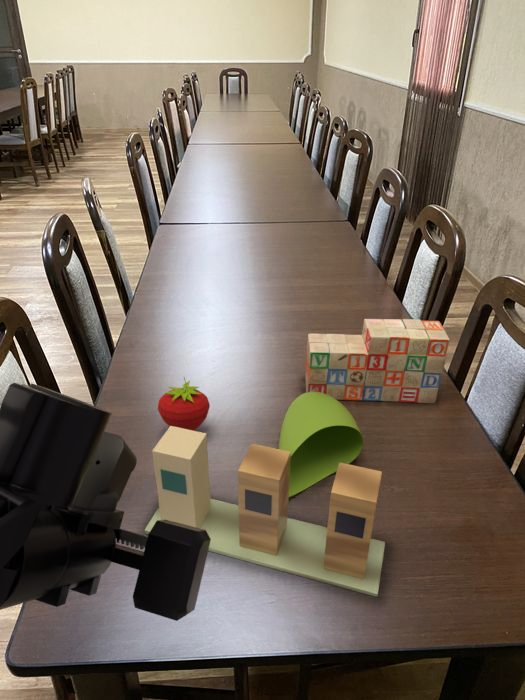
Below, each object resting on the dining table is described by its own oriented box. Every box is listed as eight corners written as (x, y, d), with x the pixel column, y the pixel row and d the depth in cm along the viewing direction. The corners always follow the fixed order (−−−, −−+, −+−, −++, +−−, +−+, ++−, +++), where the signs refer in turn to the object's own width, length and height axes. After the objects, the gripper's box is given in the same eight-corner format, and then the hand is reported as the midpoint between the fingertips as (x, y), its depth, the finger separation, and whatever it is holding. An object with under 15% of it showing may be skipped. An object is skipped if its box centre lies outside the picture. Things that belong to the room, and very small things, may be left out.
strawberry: (163, 422, 83) (157, 368, 78) (212, 422, 84) (209, 368, 78) (158, 448, 78) (151, 392, 73) (210, 447, 78) (207, 391, 73)
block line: (377, 597, 58) (392, 516, 52) (144, 533, 65) (132, 455, 59) (384, 545, 64) (399, 466, 57) (170, 491, 71) (162, 416, 65)
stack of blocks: (306, 400, 89) (310, 335, 82) (304, 378, 94) (308, 316, 88) (436, 403, 88) (450, 338, 82) (427, 381, 94) (440, 319, 87)
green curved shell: (372, 448, 65) (341, 368, 83) (272, 466, 65) (263, 383, 83) (378, 497, 68) (347, 410, 86) (283, 514, 69) (272, 424, 87)
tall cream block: (196, 535, 64) (190, 460, 58) (161, 525, 65) (151, 451, 59) (210, 506, 68) (206, 433, 62) (177, 498, 69) (170, 425, 63)
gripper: (193, 459, 34) (249, 470, 49) (-46, 404, 39) (71, 429, 53) (146, 647, 32) (220, 599, 46) (-102, 564, 36) (37, 544, 51)
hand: (133, 536), depth 49 cm, fingers open, 9 cm apart
